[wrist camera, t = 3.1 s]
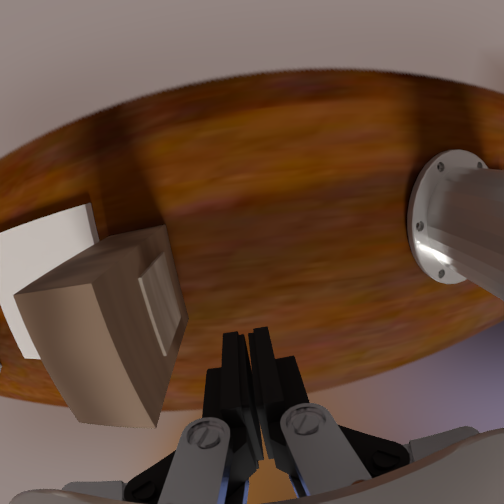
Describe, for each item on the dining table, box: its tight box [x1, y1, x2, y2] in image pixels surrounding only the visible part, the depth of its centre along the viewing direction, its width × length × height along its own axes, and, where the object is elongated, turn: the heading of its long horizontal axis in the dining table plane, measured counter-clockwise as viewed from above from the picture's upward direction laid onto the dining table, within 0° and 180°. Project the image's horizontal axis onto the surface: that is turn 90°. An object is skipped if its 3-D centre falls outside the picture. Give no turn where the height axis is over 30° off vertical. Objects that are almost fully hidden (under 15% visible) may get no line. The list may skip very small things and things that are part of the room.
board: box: [0, 203, 99, 359], centre depth 22 cm, size 16×14×1 cm
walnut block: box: [13, 224, 189, 428], centre depth 16 cm, size 5×8×12 cm, turn 9°
